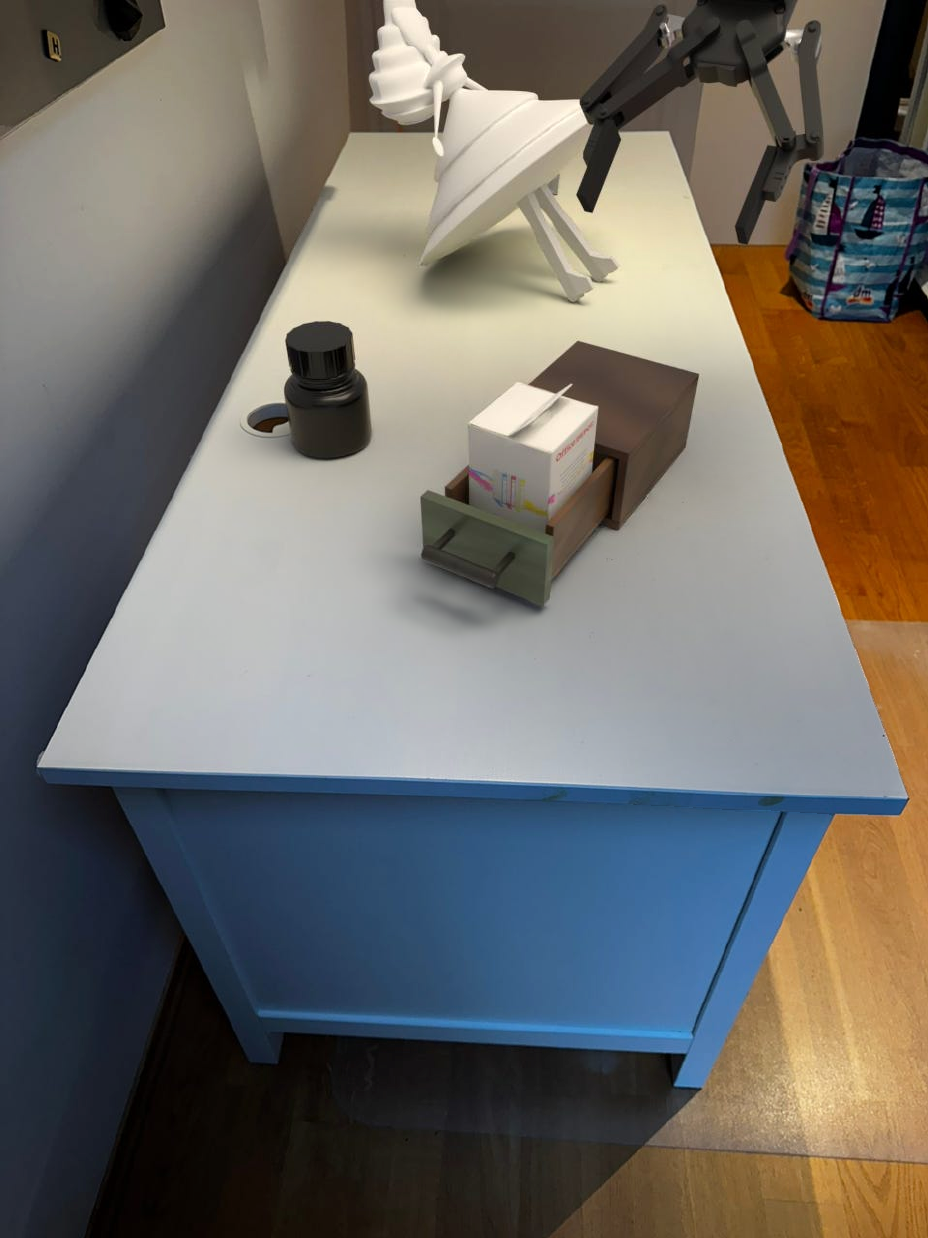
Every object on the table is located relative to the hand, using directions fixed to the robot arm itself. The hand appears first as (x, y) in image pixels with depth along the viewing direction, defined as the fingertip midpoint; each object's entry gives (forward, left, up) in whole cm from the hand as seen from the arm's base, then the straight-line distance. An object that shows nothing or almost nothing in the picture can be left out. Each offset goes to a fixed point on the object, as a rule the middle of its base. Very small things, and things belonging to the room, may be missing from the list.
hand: (659, 219), depth 73 cm
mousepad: (+59, -78, -27) cm, 101 cm away
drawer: (+5, +14, -26) cm, 30 cm away
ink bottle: (+32, +8, -27) cm, 42 cm away
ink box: (+4, +12, -25) cm, 28 cm away
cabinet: (+5, -2, -27) cm, 27 cm away
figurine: (+40, -40, -27) cm, 63 cm away
